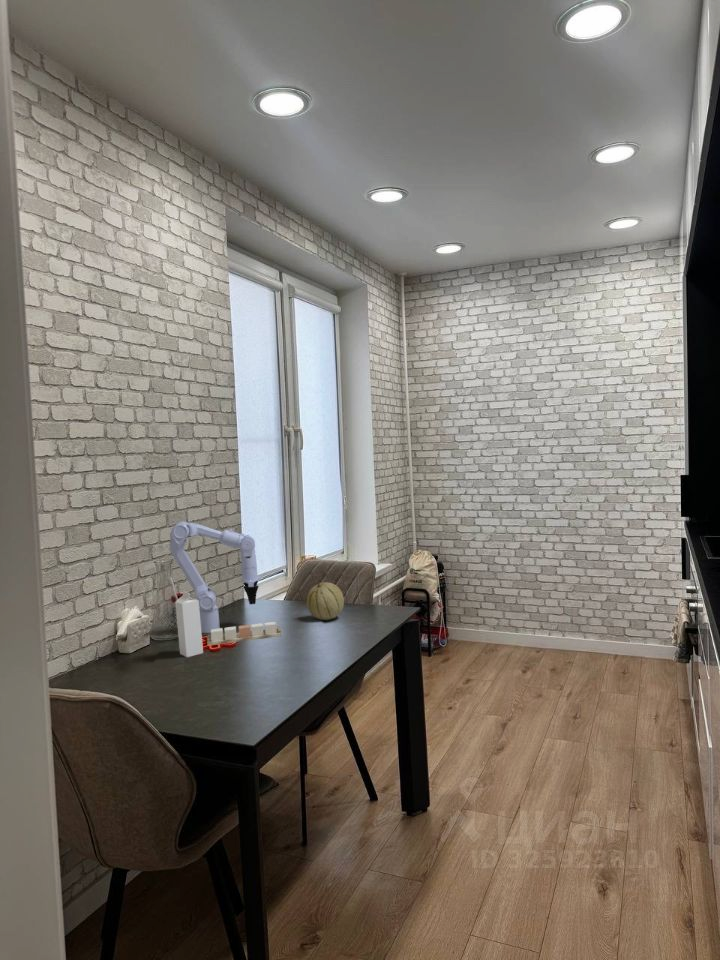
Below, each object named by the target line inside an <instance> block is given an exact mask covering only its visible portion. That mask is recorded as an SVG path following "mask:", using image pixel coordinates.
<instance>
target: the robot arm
mask: <svg viewBox="0 0 720 960" xmlns="http://www.w3.org/2000/svg"><path fill="white" fill-rule="evenodd" d="M189 536H190V537H195V536H203V537H206V538H211V539H214V540H218V541H220V543H221V545H224V546H227V547H231V548H233V549H239V550H240V553H241V556H240V562H241V574H242V582H243V583H242V584H243V585H244V586H243V589H244V591H245V593H246V595H247V599H248V604H249V605H256V602H257V594H258V593H257V592H258V591H259V590H258V589H259V585H258V581H259V580H261V579H262V577H261V576H258V566H257V565H258V564H257V556H256V549H255V547H256V542H255V539H254V537H252V536H251V535H249V534H245V533H243V532H242V533H238V532H235V531H233V529H231V528H230V529H225V530H223V531H220V530H217V529H215V528H212V527H211V528H210V527H208V526H205V525H202V524H198V523H195V522H191V521H190V522H188V521H185V520H182V521H179V522H177V523H176V524H175V525H173V527H172V529H171V531H170V533H169V551H170V553H171V554H172V557H173V558H174V560H175V561H176V563H177V565H178V567H179V568H180V569H181V572H182V573H183V574H184V577H185V578H186V579H187V581H188V583H189V584H190V586H191V587H192V589H193V592H194V595H195V597H196V598H197V599H196V600H198V601H199V611H200V622H201V633H203V634H211V629H219V628H221V627H220V617H219V616H220V615H219V606H217V604H216V602H217V599H218V595H217V594H216V592H215V591H214V590H213V589H211V587H210V586H209V585H208V584H207V583H206V582H205V580H204V579H203V577H202V576H201V574H200V572H199V571H198V569H197V567H196V566H195V564H194V563H193V561H192V559H191V558H190V556H189V554H188V553H187V550H186V549H185V545H186V542H187V539H188V537H189Z"/></svg>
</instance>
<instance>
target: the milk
mask: <svg viewBox="0 0 720 960" xmlns="http://www.w3.org/2000/svg"><path fill="white" fill-rule="evenodd" d="M174 603H175V612H176V613H175V614H176V623H177V626H176V627H177V635H178V637H177V638H178V645H179V648H178V649H179V655H181V656H183V657H185V658H190V657H193V656H197V655H201V654H204V647H203V635H202V633H201V622H200V611H199V608H200V607H199V601H198V599H195V598H192V597H191V593H190V592H188V591H185V590H182V596H180V597H179V598H178V599H176V601H175V602H174Z"/></svg>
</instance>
